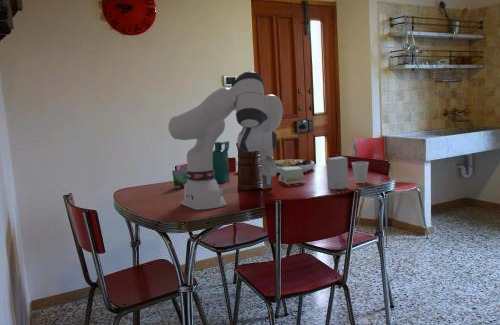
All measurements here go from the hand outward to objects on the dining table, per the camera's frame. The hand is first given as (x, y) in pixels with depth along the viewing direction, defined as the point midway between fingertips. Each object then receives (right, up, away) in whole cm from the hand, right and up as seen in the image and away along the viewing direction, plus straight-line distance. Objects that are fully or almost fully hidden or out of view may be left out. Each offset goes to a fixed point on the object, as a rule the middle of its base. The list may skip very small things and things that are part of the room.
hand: (265, 183), depth 216 cm
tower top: (+14, +3, +10) cm, 18 cm away
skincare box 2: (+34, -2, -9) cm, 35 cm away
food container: (-43, -3, +14) cm, 45 cm away
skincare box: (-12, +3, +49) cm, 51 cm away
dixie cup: (+47, 0, +2) cm, 48 cm away
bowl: (+16, +5, +49) cm, 52 cm away
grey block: (0, -3, 0) cm, 3 cm away
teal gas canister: (-23, -1, +24) cm, 34 cm away
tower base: (+14, -1, +11) cm, 18 cm away
